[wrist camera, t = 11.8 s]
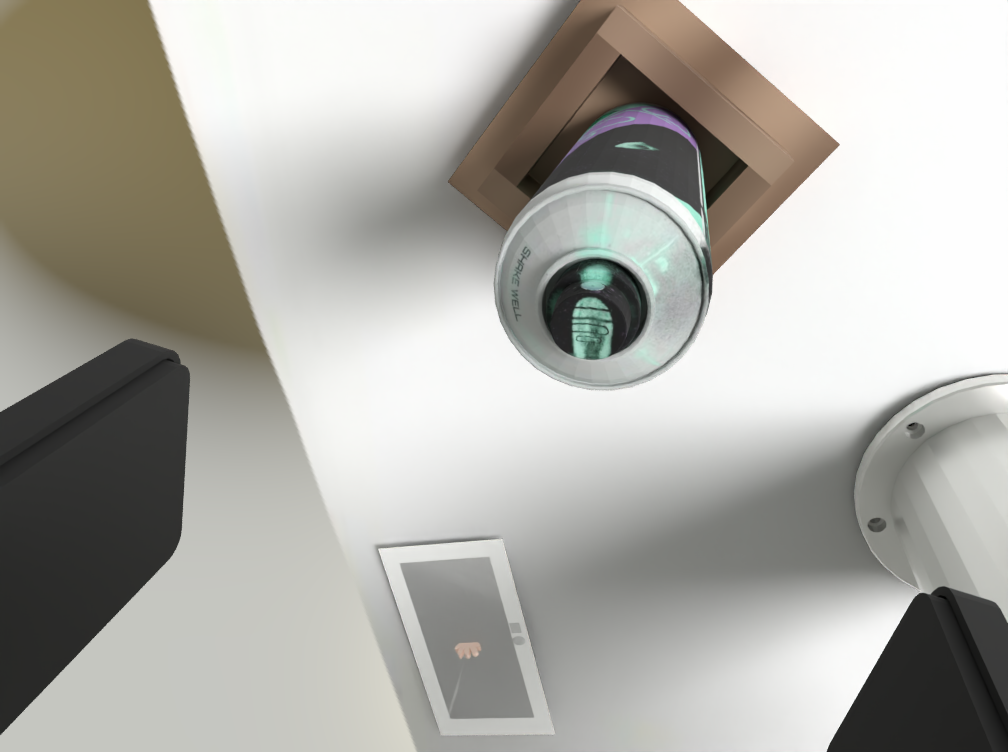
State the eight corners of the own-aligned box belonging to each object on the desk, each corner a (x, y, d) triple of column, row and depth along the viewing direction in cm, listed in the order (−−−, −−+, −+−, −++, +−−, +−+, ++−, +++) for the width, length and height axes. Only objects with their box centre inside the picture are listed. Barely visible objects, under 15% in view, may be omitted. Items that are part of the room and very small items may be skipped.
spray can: (666, 76, 34) (643, 153, 16) (723, 192, 35) (760, 382, 18) (552, 142, 36) (421, 276, 18) (611, 249, 37) (541, 471, 20)
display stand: (832, 137, 35) (853, 156, 31) (646, 329, 41) (641, 369, 36) (622, -50, 34) (613, -58, 30) (458, 174, 39) (429, 195, 35)
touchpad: (445, 722, 55) (436, 748, 53) (384, 538, 50) (371, 559, 48) (557, 721, 53) (552, 748, 51) (506, 528, 48) (498, 550, 46)
